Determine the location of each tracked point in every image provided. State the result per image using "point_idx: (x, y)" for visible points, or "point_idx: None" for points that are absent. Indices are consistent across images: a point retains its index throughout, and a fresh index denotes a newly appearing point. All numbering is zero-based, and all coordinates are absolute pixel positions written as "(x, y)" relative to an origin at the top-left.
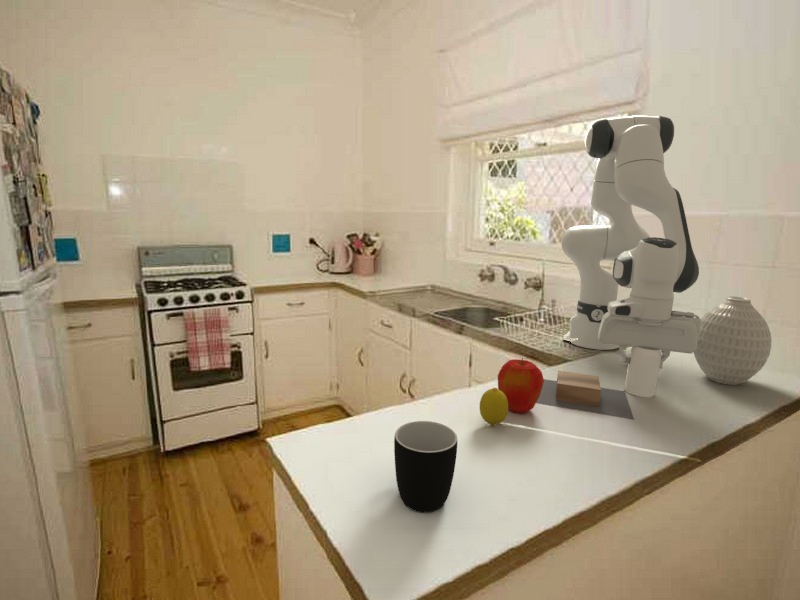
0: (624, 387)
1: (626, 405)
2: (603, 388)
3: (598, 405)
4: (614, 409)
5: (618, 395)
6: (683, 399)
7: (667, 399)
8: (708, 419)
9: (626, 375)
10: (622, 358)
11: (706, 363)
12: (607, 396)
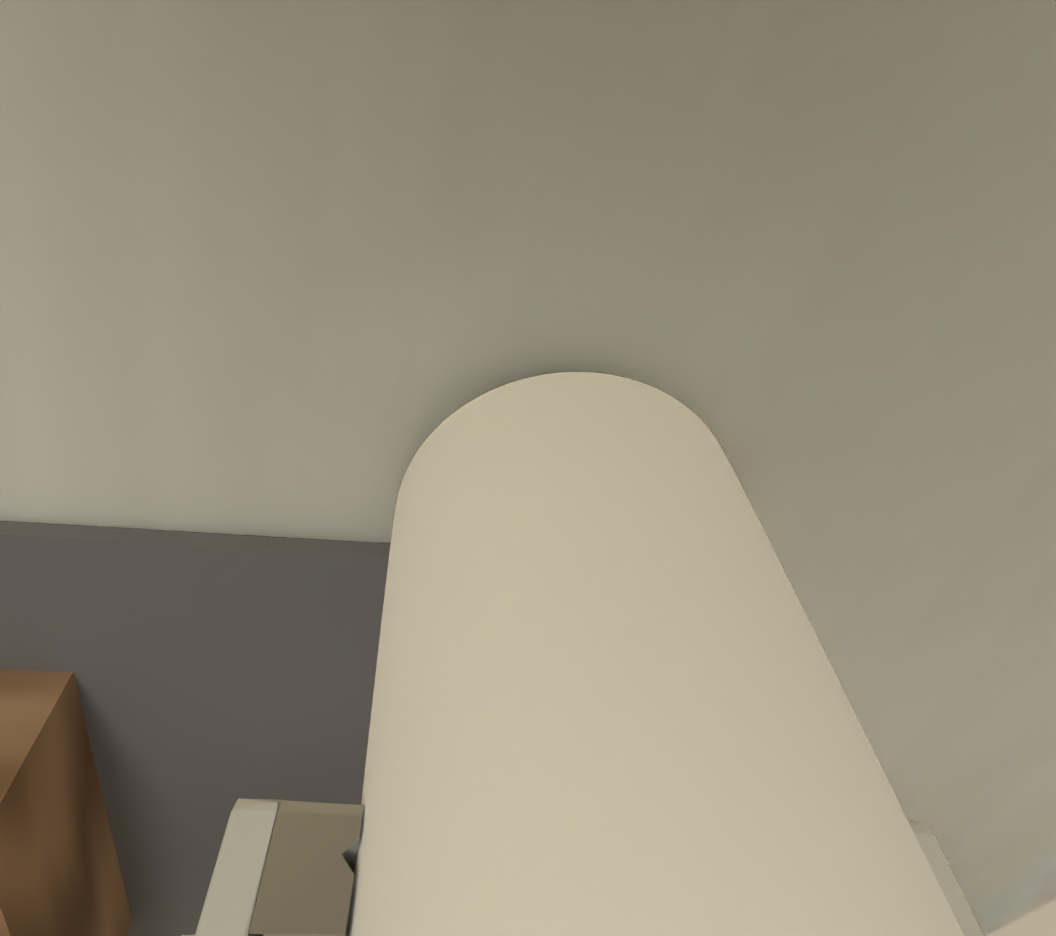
0: (394, 514)
1: None
2: (142, 555)
3: (123, 932)
4: None
5: (307, 684)
6: (1034, 516)
7: (838, 569)
8: (967, 831)
9: (379, 638)
10: (221, 849)
11: None
12: (195, 733)
